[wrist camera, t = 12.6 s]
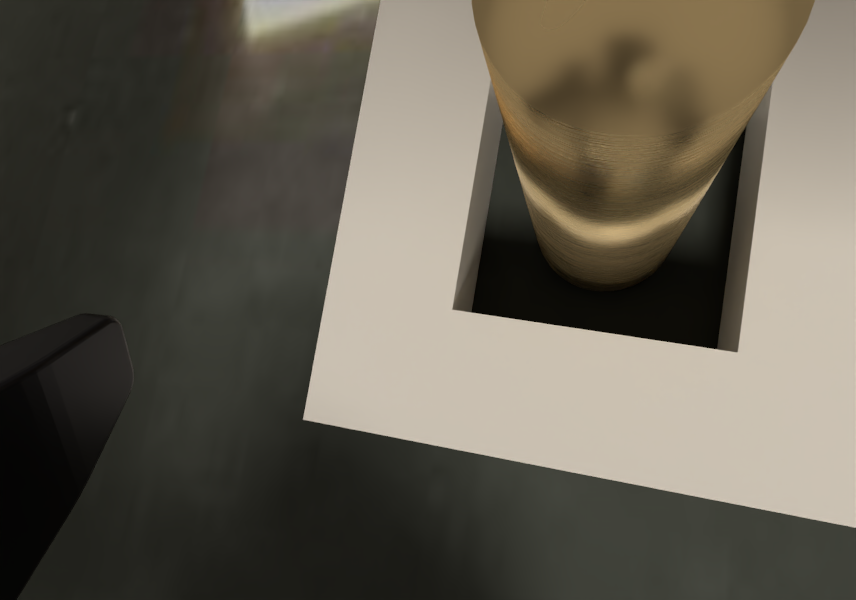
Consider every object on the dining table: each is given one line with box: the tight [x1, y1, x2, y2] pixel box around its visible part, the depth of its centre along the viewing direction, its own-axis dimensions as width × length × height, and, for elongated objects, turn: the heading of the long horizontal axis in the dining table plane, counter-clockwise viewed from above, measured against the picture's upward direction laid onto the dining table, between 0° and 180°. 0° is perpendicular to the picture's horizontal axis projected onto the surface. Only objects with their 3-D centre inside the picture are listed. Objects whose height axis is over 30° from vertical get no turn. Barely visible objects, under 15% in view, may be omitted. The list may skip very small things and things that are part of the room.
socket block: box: [303, 0, 856, 528], centre depth 20 cm, size 14×14×3 cm
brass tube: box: [472, 0, 815, 292], centre depth 15 cm, size 4×4×13 cm
